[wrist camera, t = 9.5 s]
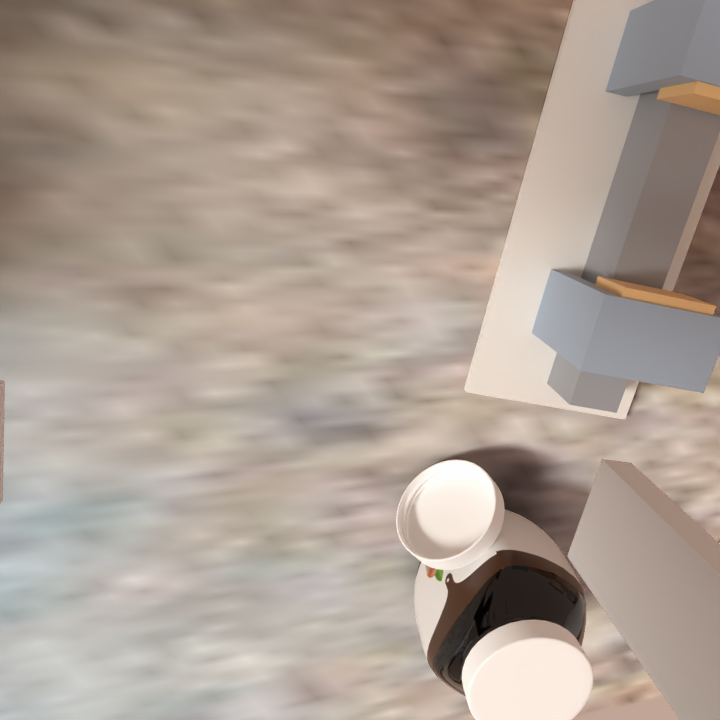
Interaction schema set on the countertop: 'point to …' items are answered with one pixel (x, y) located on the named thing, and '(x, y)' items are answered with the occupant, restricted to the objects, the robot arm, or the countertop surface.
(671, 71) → the fitted finger
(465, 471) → the spread jar
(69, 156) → the countertop surface
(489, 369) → the rail board
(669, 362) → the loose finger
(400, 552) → the countertop surface
